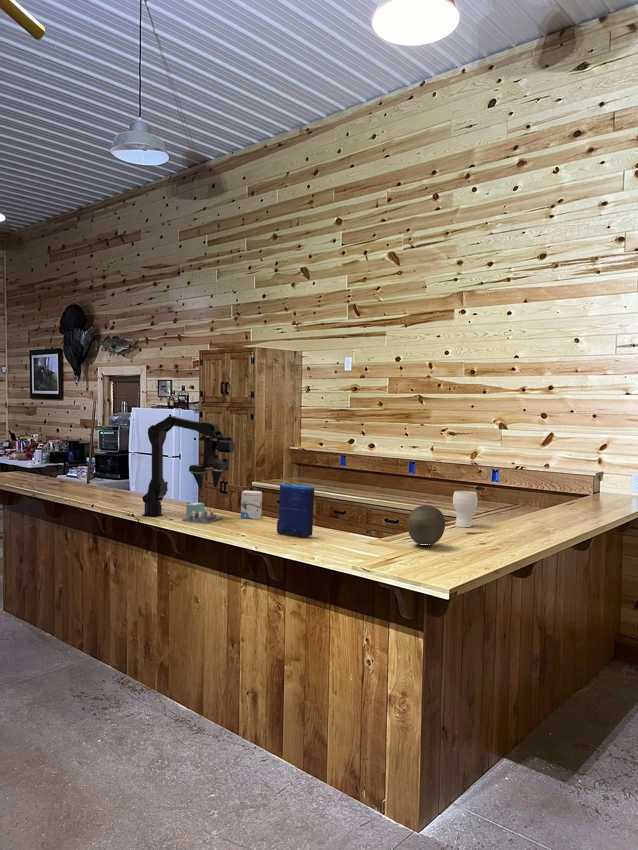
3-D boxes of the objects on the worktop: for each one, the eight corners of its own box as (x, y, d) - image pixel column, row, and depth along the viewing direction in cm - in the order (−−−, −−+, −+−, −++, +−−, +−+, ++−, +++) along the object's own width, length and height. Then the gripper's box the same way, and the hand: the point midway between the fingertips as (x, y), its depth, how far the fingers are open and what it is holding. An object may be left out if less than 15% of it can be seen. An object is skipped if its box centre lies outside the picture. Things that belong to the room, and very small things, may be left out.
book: (274, 534, 249) (276, 483, 249) (282, 532, 254) (283, 481, 253) (307, 539, 242) (309, 486, 242) (313, 536, 247) (315, 485, 247)
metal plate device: (182, 520, 271) (182, 510, 271) (198, 516, 284) (198, 506, 284) (207, 523, 267) (207, 513, 267) (222, 518, 280) (223, 508, 280)
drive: (186, 516, 284) (186, 504, 284) (195, 513, 292) (195, 502, 292) (195, 516, 283) (195, 505, 283) (204, 514, 291) (204, 502, 291)
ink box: (240, 518, 282) (241, 491, 282) (242, 516, 287) (243, 490, 287) (259, 519, 282) (260, 492, 281) (261, 517, 287) (262, 491, 286)
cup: (446, 525, 282) (448, 491, 282) (461, 523, 289) (462, 490, 289) (467, 529, 274) (468, 494, 274) (481, 527, 281) (482, 492, 281)
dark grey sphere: (399, 543, 240) (400, 503, 240) (432, 541, 245) (433, 502, 245) (418, 551, 227) (419, 509, 227) (452, 549, 232) (454, 508, 232)
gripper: (208, 453, 262) (206, 491, 263) (238, 452, 278) (236, 488, 279) (188, 451, 269) (187, 488, 269) (218, 450, 284) (217, 485, 285)
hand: (208, 487), depth 275 cm, fingers open, 9 cm apart
